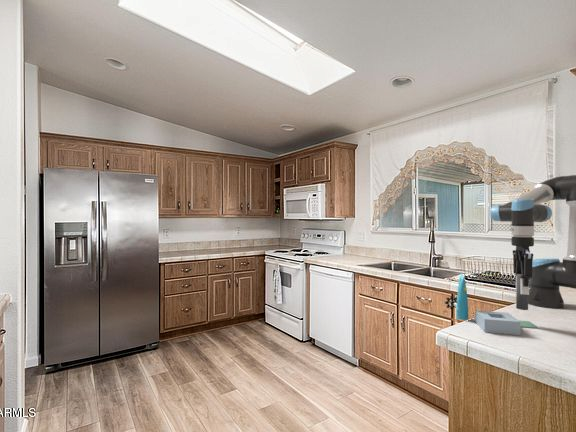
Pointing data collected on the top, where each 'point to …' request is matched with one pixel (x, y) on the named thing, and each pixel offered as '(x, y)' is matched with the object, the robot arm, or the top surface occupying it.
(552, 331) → the top surface
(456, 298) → the valve
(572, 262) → the robot arm
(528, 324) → the pad
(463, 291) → the tube
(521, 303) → the plug
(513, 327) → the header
